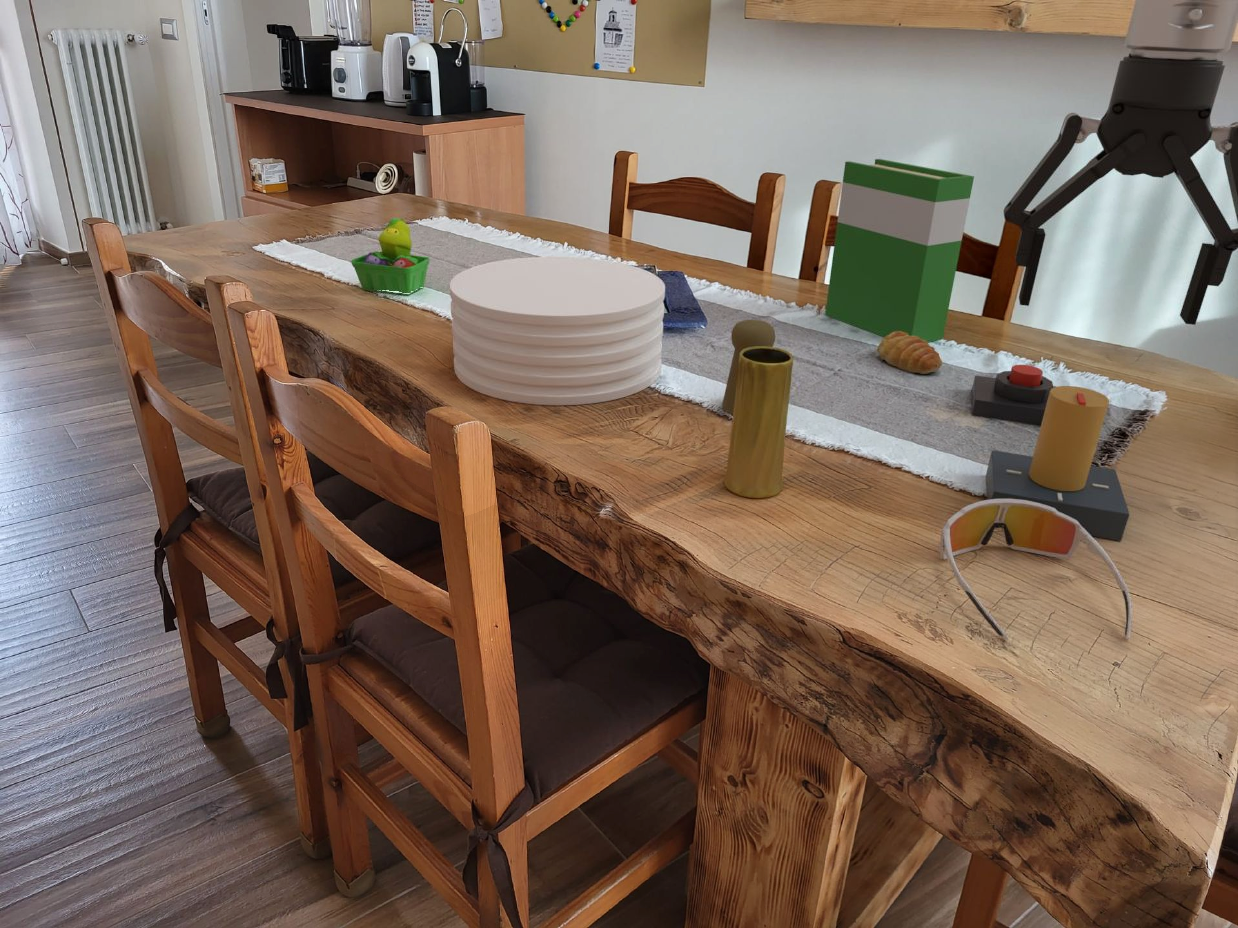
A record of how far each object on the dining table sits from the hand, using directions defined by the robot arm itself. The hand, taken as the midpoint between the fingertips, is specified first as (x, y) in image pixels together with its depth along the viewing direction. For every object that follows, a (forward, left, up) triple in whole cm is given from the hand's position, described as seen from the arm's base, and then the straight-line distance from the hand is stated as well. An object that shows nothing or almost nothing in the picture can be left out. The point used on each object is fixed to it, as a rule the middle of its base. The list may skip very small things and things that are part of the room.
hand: (1103, 311), depth 83 cm
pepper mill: (+34, -13, -21) cm, 42 cm away
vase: (+29, +7, -21) cm, 36 cm away
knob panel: (0, 0, -20) cm, 21 cm away
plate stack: (+61, -18, -21) cm, 67 cm away
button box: (+2, -26, -20) cm, 33 cm away
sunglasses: (+3, +17, -21) cm, 27 cm away
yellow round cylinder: (0, 0, -17) cm, 17 cm away
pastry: (+16, -38, -21) cm, 46 cm away
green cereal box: (+21, -54, -21) cm, 62 cm away
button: (+2, -26, -17) cm, 31 cm away
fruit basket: (+101, -41, -21) cm, 111 cm away
